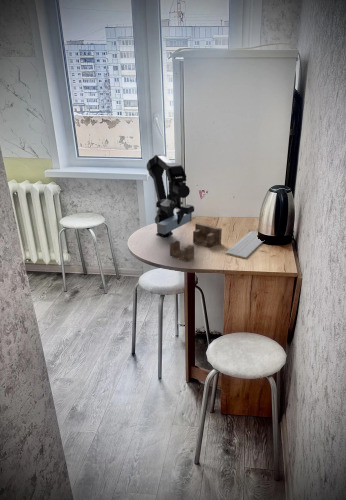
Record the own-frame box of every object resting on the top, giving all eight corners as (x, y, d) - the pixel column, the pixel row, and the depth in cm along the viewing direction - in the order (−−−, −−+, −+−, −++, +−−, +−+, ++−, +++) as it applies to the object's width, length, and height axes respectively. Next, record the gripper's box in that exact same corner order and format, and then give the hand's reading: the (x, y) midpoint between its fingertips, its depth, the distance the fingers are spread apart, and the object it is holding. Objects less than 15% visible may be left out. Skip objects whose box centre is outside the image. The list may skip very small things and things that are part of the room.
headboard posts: (166, 254, 180) (166, 239, 176) (197, 237, 199) (197, 222, 195) (191, 263, 172) (191, 246, 169) (221, 243, 191) (221, 228, 188)
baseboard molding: (221, 254, 182) (245, 260, 176) (222, 248, 181) (246, 254, 175) (247, 232, 205) (269, 237, 200) (247, 227, 204) (269, 232, 198)
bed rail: (157, 232, 180) (156, 223, 178) (184, 219, 196) (184, 210, 194) (164, 234, 177) (164, 225, 176) (191, 220, 193) (191, 212, 192)
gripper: (148, 192, 179) (149, 224, 185) (181, 199, 168) (181, 232, 175) (163, 187, 187) (163, 217, 193) (195, 193, 177) (194, 225, 183)
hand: (174, 223), depth 186 cm, fingers closed on bed rail, 4 cm apart
